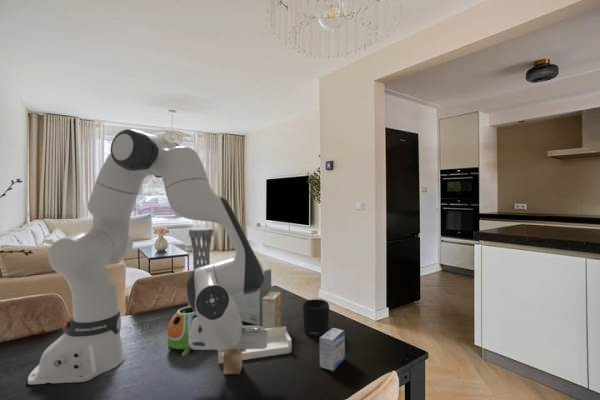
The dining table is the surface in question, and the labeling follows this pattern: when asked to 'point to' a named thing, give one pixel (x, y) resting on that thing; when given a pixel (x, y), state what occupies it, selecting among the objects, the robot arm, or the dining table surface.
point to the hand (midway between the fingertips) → (233, 348)
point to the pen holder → (316, 317)
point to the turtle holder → (180, 329)
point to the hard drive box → (254, 302)
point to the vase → (197, 234)
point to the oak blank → (232, 361)
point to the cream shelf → (268, 345)
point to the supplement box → (271, 310)
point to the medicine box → (332, 349)
